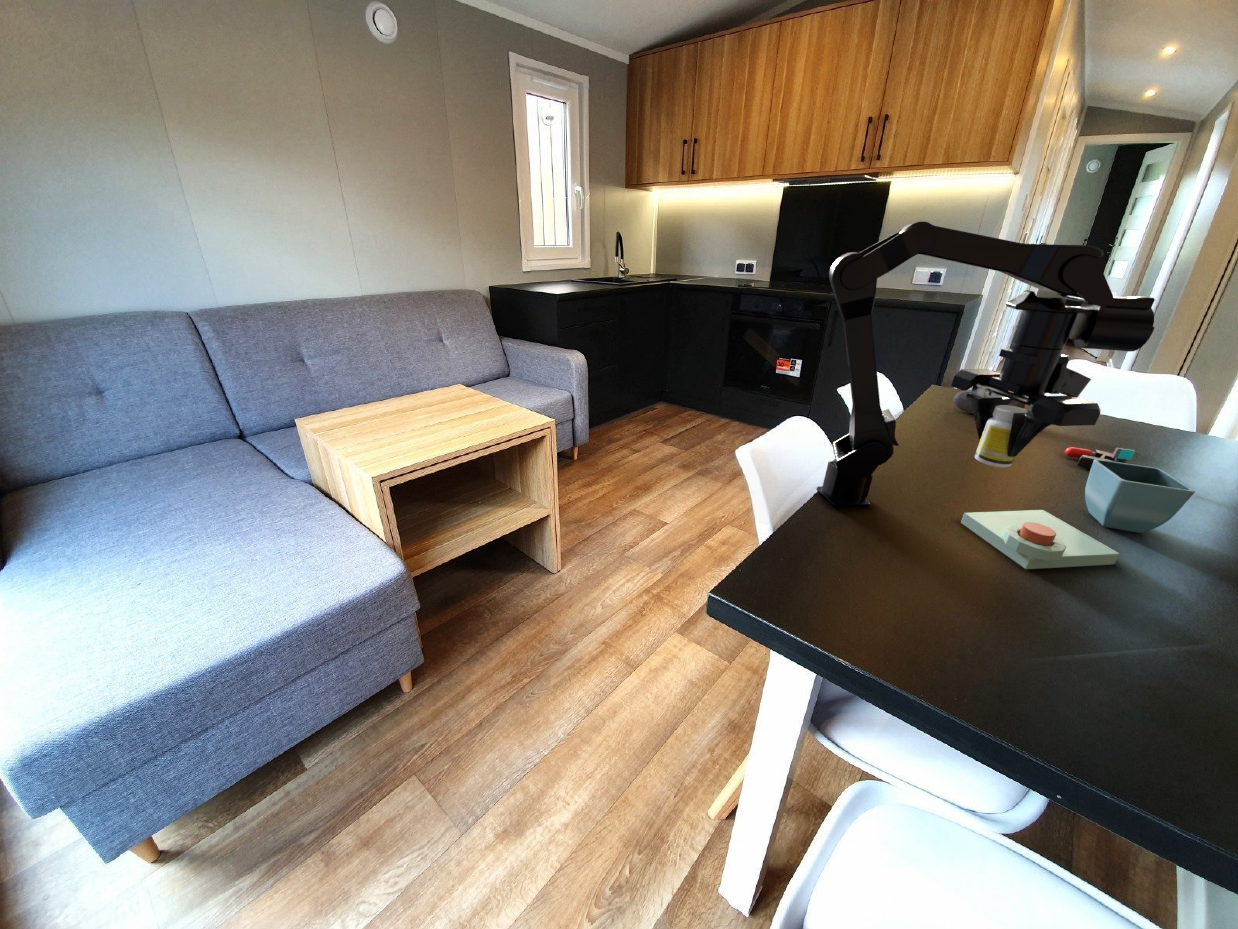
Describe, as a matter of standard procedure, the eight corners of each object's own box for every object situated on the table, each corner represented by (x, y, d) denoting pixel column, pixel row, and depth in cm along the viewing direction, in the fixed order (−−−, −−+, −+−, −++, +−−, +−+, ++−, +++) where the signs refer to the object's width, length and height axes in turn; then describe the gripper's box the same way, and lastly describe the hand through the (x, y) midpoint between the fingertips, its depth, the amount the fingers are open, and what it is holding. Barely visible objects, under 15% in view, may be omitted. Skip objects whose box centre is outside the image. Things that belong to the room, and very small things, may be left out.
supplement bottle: (1017, 469, 72) (1040, 415, 68) (982, 466, 73) (1002, 412, 69) (1001, 456, 76) (1021, 405, 73) (968, 453, 77) (986, 402, 73)
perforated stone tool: (947, 410, 130) (956, 384, 127) (952, 406, 134) (961, 381, 131) (1016, 425, 121) (1027, 398, 118) (1019, 420, 124) (1030, 394, 121)
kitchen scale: (1025, 573, 66) (1035, 552, 65) (955, 523, 78) (963, 503, 76) (1119, 568, 68) (1131, 547, 66) (1038, 519, 79) (1046, 500, 78)
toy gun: (1129, 463, 102) (1140, 442, 99) (1119, 479, 94) (1131, 456, 92) (1069, 448, 108) (1079, 428, 106) (1057, 462, 101) (1066, 440, 99)
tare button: (1034, 547, 66) (1039, 536, 65) (1012, 532, 69) (1017, 522, 69) (1058, 546, 67) (1063, 535, 66) (1034, 531, 70) (1039, 521, 69)
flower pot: (1132, 515, 82) (1159, 467, 78) (1166, 543, 74) (1198, 491, 70) (1069, 505, 84) (1092, 458, 80) (1095, 531, 76) (1122, 480, 73)
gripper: (1163, 360, 60) (1106, 475, 66) (1029, 332, 76) (994, 426, 83) (1084, 361, 58) (1034, 478, 65) (964, 332, 75) (934, 428, 82)
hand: (997, 449), depth 74 cm, fingers closed on supplement bottle, 5 cm apart
